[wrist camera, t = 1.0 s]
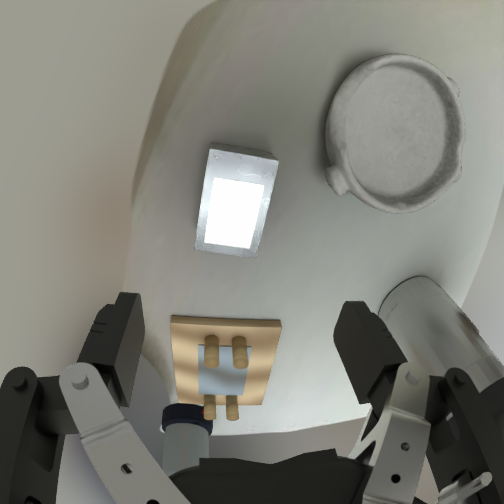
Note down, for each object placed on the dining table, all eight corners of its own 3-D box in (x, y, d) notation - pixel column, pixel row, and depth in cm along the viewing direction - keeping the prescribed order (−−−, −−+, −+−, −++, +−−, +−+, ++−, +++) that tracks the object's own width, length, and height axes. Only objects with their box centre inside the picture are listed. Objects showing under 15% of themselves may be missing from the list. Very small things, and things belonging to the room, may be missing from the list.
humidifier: (219, 408, 40) (228, 559, 18) (204, 429, 44) (209, 559, 22) (167, 398, 38) (159, 556, 16) (159, 420, 42) (151, 554, 20)
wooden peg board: (171, 315, 31) (166, 346, 26) (280, 320, 32) (287, 350, 28) (178, 396, 38) (176, 422, 34) (260, 398, 40) (264, 424, 36)
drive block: (270, 152, 24) (279, 161, 20) (251, 236, 27) (256, 258, 24) (211, 142, 23) (209, 149, 19) (198, 229, 27) (194, 250, 23)
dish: (312, 197, 26) (330, 217, 22) (317, 45, 19) (338, 34, 15) (433, 200, 27) (461, 218, 23) (446, 77, 21) (478, 79, 16)
